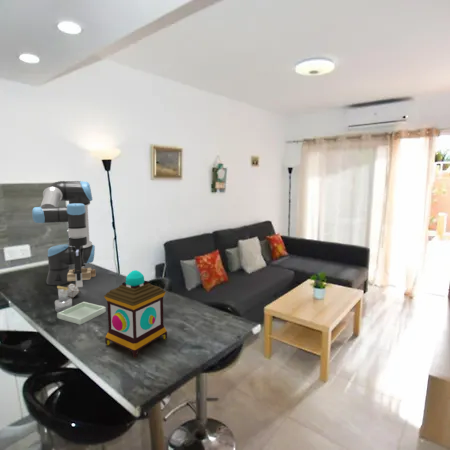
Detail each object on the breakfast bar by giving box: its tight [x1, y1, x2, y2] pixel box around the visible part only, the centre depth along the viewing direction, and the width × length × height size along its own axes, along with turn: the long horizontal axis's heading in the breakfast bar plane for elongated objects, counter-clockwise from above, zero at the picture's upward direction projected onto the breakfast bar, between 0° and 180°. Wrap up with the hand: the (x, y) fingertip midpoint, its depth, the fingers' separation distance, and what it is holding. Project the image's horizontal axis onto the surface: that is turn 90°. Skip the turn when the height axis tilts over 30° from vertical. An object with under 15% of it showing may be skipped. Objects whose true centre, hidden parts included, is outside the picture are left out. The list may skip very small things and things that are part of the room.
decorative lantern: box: [103, 269, 168, 359], centre depth 117 cm, size 20×20×30 cm
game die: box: [65, 282, 82, 300], centre depth 163 cm, size 9×8×10 cm
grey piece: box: [54, 285, 73, 313], centre depth 148 cm, size 8×8×12 cm
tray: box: [56, 301, 107, 325], centre depth 143 cm, size 15×15×2 cm
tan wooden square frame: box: [67, 267, 96, 282], centre depth 140 cm, size 10×12×3 cm
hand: (80, 283), depth 140 cm, fingers closed on tan wooden square frame, 9 cm apart
